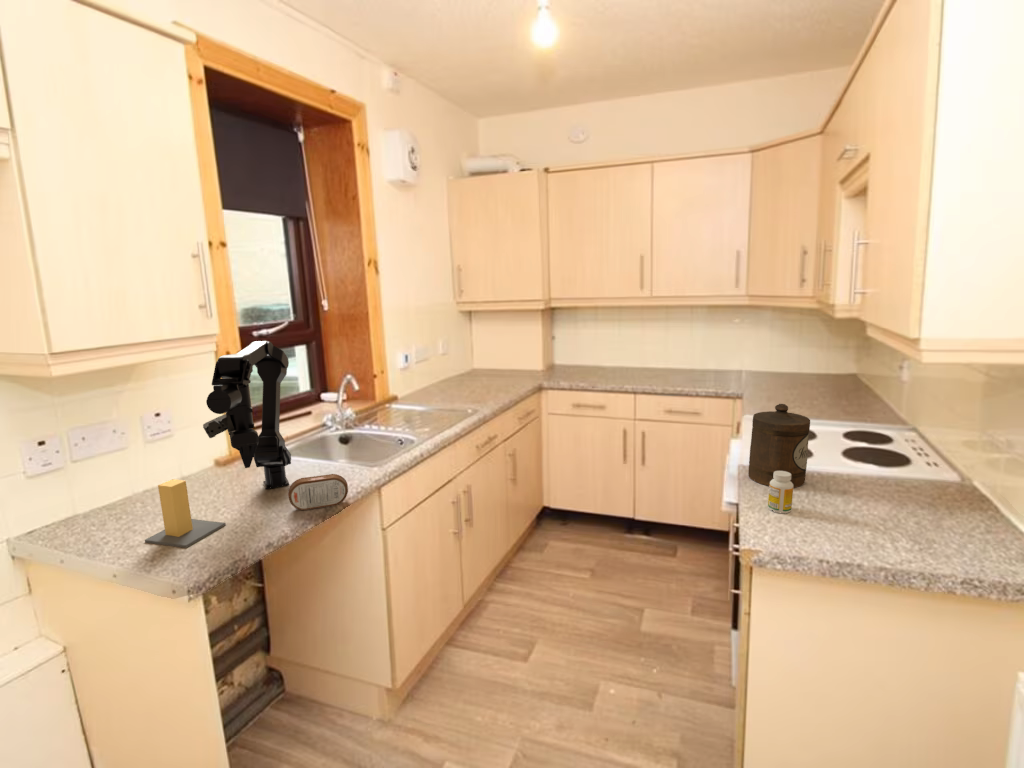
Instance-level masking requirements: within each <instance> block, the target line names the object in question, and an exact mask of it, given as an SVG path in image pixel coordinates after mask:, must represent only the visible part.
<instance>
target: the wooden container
mask: <svg viewBox="0 0 1024 768" xmlns="http://www.w3.org/2000/svg"><path fill="white" fill-rule="evenodd" d="M774 409H775V411H773V410H772V411H760V412H756V413H754V414H753V416H752V422H751V423H752V424H751V425H752V429H751V438H750V448H749V460H748V477H749V479H750V480H752V481H754V482H755V483H757V484H761V485H764V486H767V487H769V485H770V481H771V480H772V479H774V478H773V474H774V472H775V471H786V472H789V473H791V480H790V481H791V482H792V483H793V488H798V487H801V486H803V485H805V483H806V474H807V465H808V454H809V453H808V452H809V437H810V430H811V429H810V428H811V419H810V418H809V417H807V416H805V415H803V414H802V415H801V414H798V413H794V412H789V406H788V405H786V404H785V403H779V404H777V405H775V406H774Z"/></svg>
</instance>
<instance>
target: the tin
mask: <svg viewBox="0 0 1024 768" xmlns="http://www.w3.org/2000/svg"><path fill="white" fill-rule="evenodd" d="M348 494H349V486H348V482H347V480H346V479H345V478H344V477H343V476H341V474H340V475H339V474H336V473H331V474H329V473H328V474H322V475H316V476H315V475H313V476H307V477H300V478H298V479H296V480H295V481H293V482H291V485H290V486H289V488H288V493H287V495H288V500H289V504H290V505H292V507H294V508H295V509H296V510H300V511H307V510H314V509H320V508H328V507H329V508H330V507H334V506H335V507H336V506H338V505H340V504H342V503H343V502H344V501H345V500H346V498H347V497H348Z"/></svg>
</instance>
